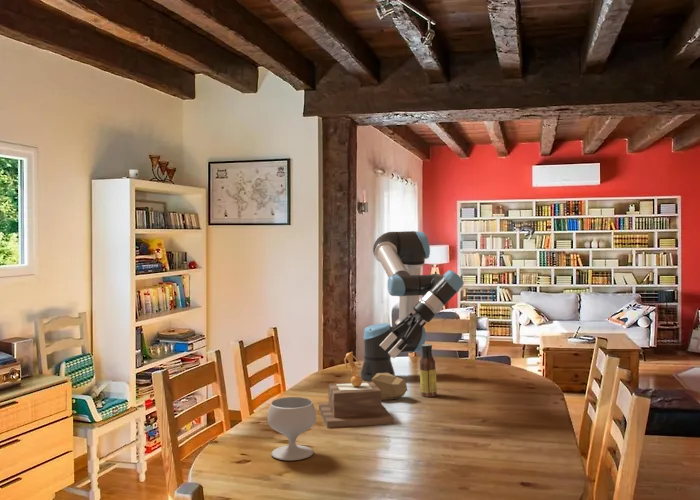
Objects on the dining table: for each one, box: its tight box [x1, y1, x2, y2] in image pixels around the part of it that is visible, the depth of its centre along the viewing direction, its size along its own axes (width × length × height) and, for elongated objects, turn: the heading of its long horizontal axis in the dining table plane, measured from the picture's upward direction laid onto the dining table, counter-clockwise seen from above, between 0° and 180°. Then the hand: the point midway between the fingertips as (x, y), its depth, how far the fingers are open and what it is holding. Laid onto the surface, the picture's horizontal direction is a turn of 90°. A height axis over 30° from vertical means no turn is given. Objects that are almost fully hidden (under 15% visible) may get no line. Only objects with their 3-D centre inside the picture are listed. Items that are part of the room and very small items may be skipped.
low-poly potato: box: [371, 373, 408, 401], centre depth 236 cm, size 15×11×12 cm
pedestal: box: [318, 381, 394, 429], centre depth 214 cm, size 22×22×10 cm
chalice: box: [266, 396, 317, 461], centre depth 177 cm, size 14×14×15 cm
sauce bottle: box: [419, 343, 438, 398], centre depth 240 cm, size 7×6×20 cm
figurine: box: [343, 351, 363, 387], centre depth 214 cm, size 8×6×12 cm
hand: (386, 351), depth 215 cm, fingers open, 13 cm apart
